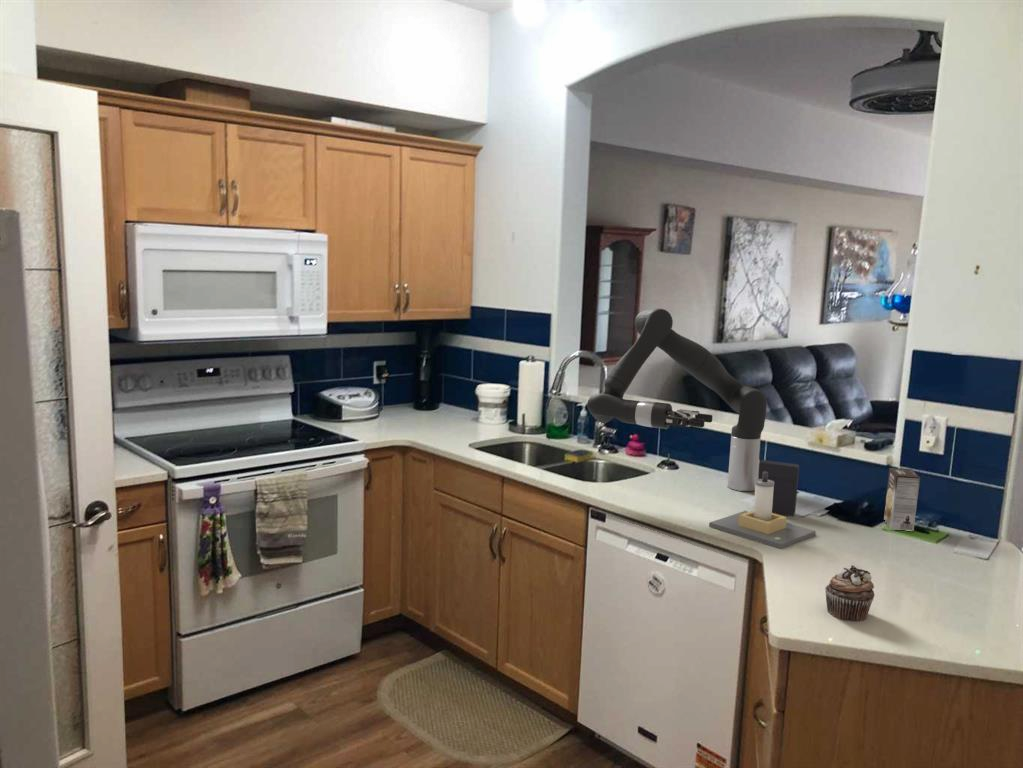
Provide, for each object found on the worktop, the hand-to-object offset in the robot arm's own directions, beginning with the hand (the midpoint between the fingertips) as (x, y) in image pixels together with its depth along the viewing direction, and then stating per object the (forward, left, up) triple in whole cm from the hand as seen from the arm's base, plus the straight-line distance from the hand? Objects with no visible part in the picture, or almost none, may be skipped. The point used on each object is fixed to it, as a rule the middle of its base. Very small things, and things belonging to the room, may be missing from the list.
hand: (708, 421), depth 234 cm
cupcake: (+32, +59, -28) cm, 73 cm away
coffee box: (-38, +40, -28) cm, 62 cm away
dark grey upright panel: (-21, +11, -28) cm, 37 cm away
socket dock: (-2, +18, -28) cm, 33 cm away
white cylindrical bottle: (-2, +18, -27) cm, 32 cm away
